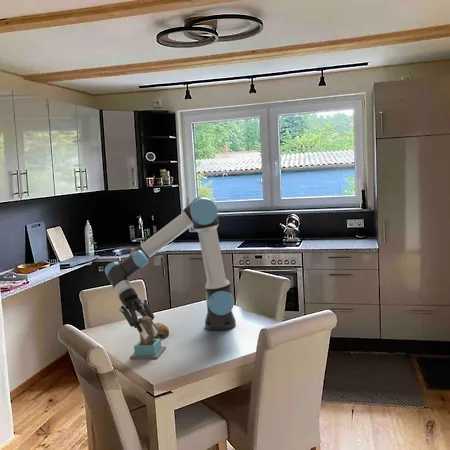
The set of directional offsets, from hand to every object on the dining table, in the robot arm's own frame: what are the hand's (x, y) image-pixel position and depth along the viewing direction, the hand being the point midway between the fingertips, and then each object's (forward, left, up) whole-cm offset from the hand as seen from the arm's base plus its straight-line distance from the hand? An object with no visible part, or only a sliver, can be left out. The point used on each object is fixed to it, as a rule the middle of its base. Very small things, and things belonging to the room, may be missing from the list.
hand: (151, 336), depth 220 cm
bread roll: (+6, -26, -9) cm, 28 cm away
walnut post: (+3, -2, -5) cm, 6 cm away
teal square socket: (+3, -2, -9) cm, 9 cm away
